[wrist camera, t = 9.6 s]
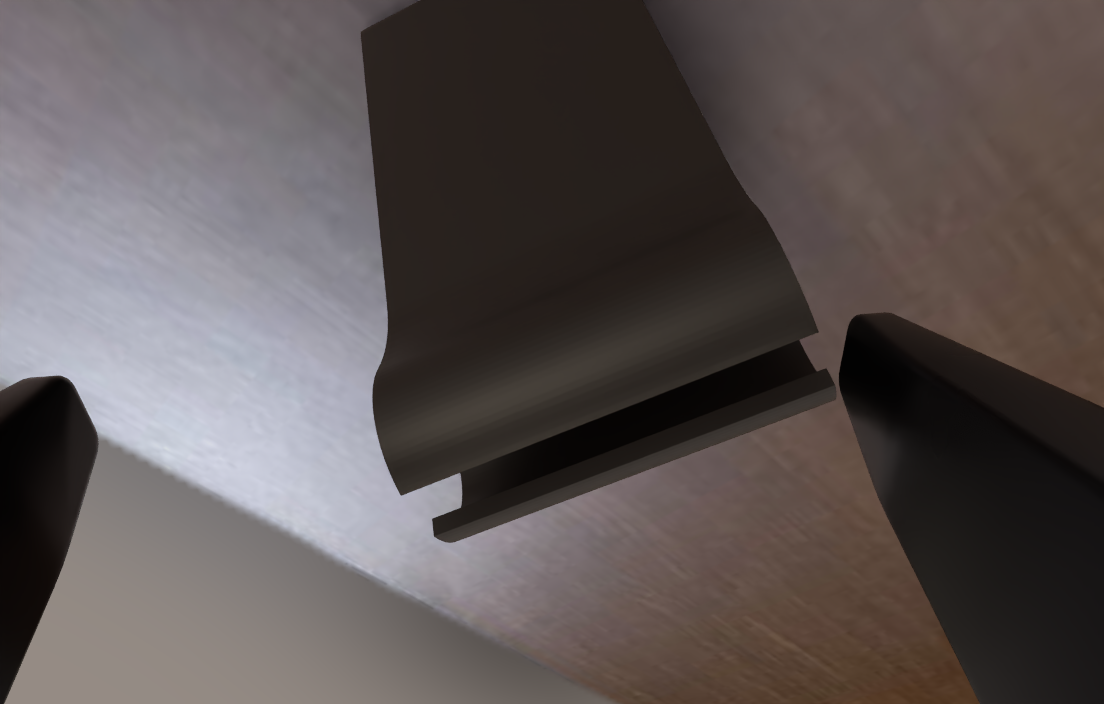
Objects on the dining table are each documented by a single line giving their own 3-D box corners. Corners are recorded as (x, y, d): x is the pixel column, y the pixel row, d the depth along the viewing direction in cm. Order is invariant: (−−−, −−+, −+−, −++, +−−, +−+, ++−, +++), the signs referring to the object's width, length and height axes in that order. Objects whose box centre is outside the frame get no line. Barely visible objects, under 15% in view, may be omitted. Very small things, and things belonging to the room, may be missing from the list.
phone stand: (362, 26, 19) (210, 260, 9) (594, -95, 17) (726, 15, 8) (524, 315, 23) (546, 680, 13) (714, 236, 22) (892, 569, 12)
